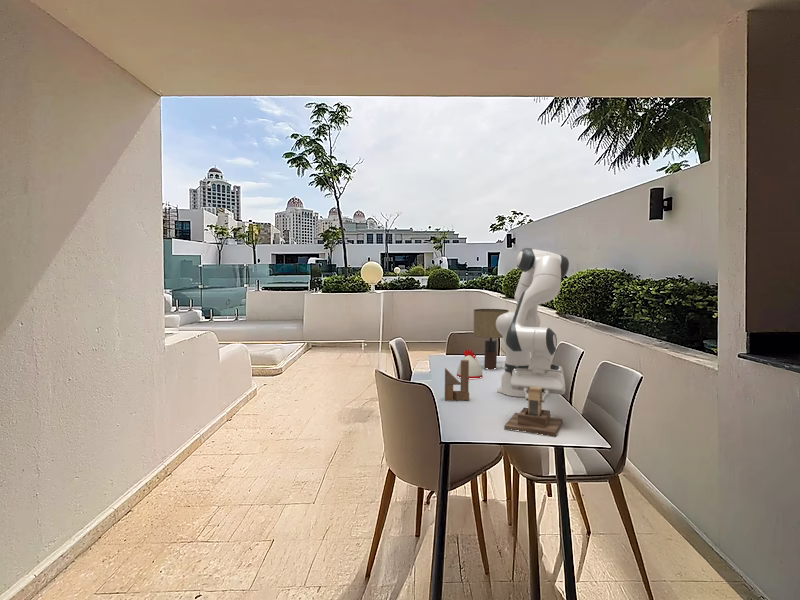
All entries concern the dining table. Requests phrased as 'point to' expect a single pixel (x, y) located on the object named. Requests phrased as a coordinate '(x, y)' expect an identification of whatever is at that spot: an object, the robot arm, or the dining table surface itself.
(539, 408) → the tan rectangular box
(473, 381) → the dining table surface
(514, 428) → the post base
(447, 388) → the wooden block
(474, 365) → the kitchen timer
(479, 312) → the lamp
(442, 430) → the dining table surface
